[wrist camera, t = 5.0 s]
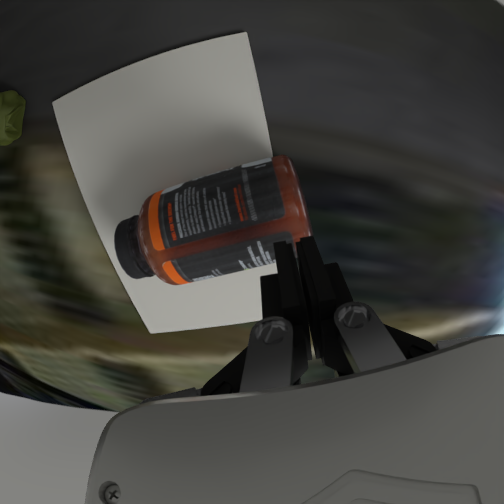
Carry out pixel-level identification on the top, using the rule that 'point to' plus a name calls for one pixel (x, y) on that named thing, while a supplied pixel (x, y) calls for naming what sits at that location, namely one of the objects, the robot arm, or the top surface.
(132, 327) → the top surface
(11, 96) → the pear
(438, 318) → the top surface
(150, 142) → the mat
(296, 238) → the supplement bottle
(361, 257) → the top surface
